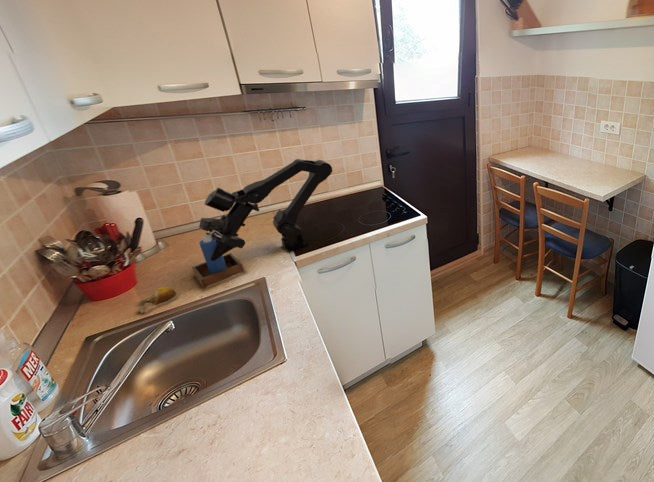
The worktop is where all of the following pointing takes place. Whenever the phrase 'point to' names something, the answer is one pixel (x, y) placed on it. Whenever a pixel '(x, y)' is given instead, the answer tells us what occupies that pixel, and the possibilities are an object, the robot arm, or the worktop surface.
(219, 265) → the bottle
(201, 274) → the tray
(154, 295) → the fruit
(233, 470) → the worktop surface
